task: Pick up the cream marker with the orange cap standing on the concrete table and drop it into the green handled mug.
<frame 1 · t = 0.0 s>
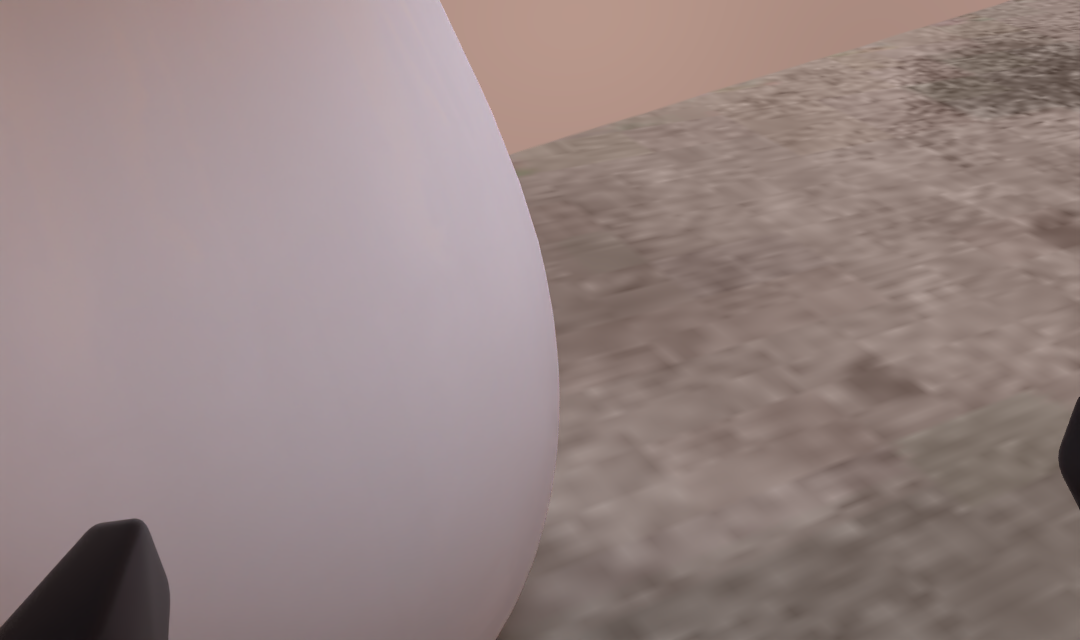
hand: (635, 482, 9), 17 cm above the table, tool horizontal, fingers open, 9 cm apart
pitcher: (188, 589, 30), on the table
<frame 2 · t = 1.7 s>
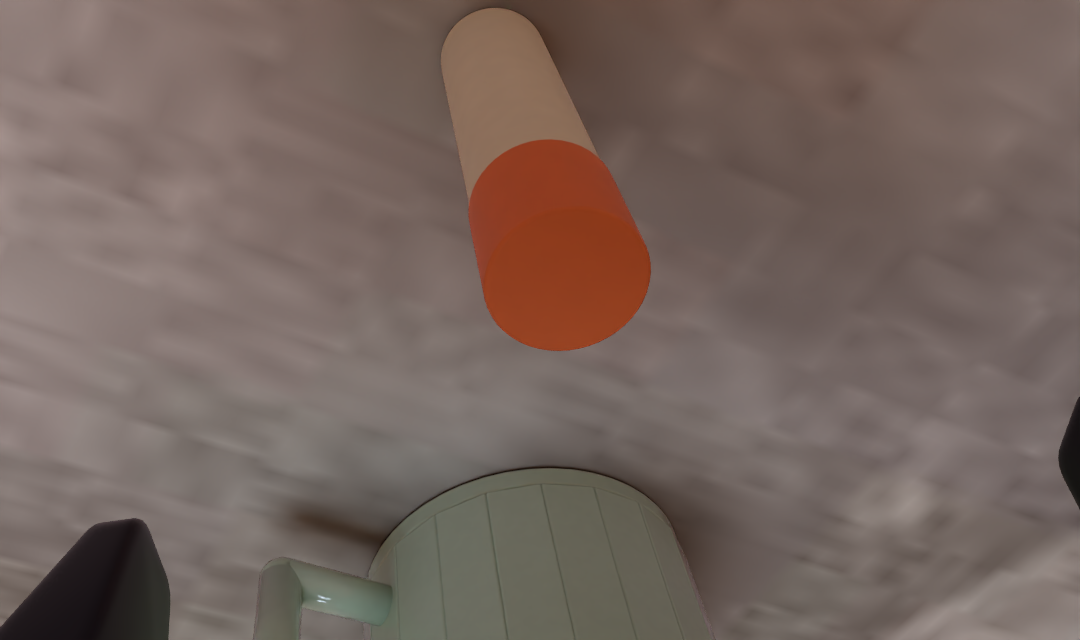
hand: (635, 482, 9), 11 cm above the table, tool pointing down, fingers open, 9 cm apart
green handled mug: (525, 584, 27), on the table
marker: (493, 59, 18), on the table
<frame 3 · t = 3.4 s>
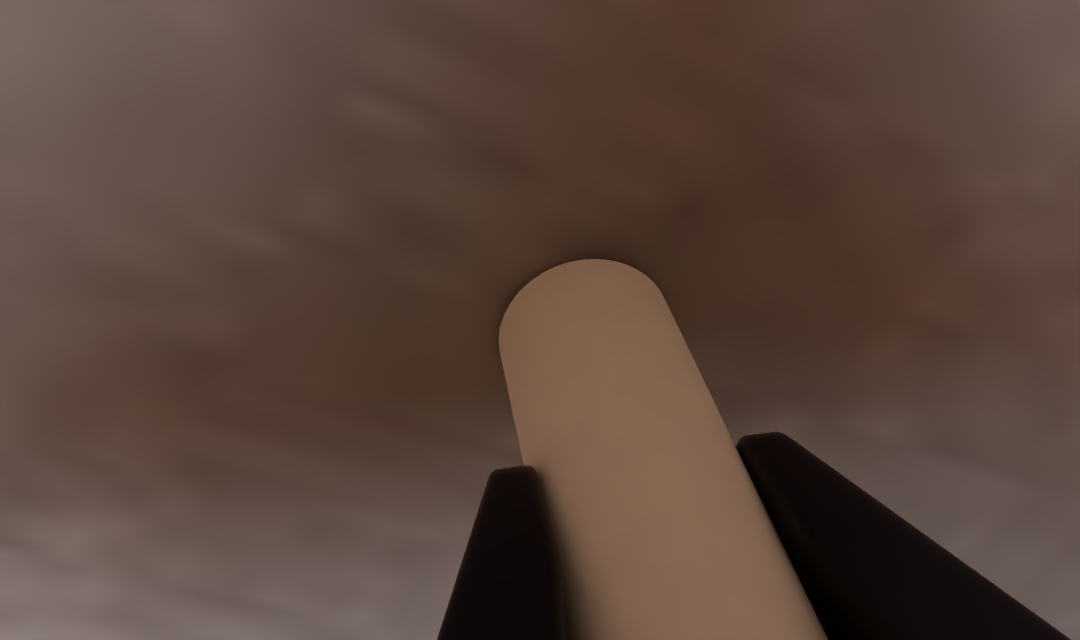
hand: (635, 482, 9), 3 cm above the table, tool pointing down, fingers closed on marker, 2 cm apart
marker: (583, 330, 11), on the table, touching gripper
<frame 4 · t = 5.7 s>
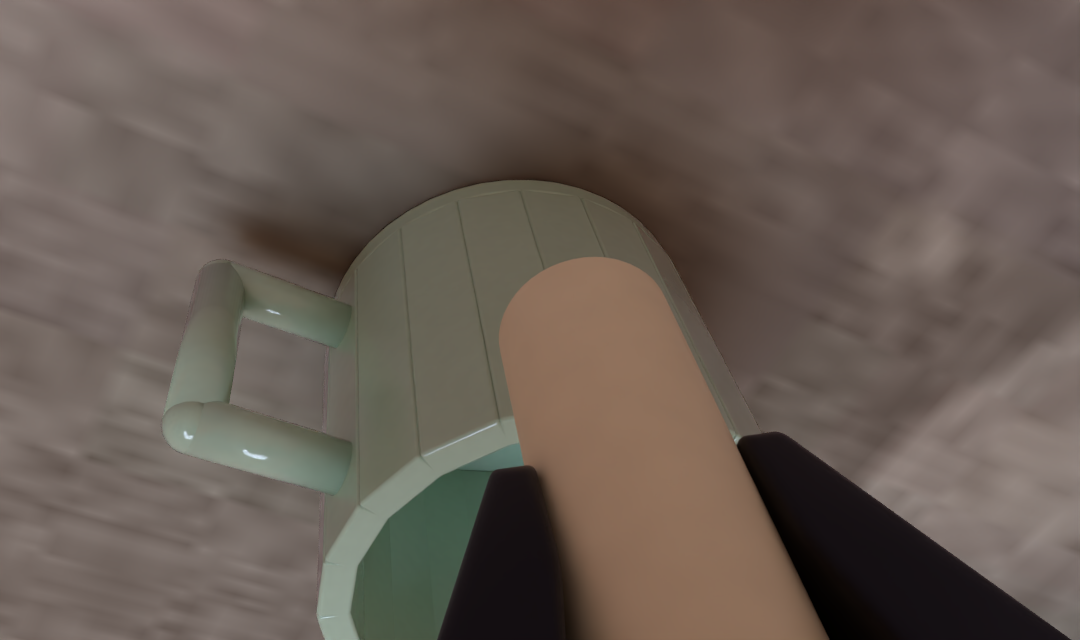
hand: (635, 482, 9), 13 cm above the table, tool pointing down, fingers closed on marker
green handled mug: (508, 339, 24), on the table
marker: (583, 328, 11), point 10 cm above the table, touching gripper
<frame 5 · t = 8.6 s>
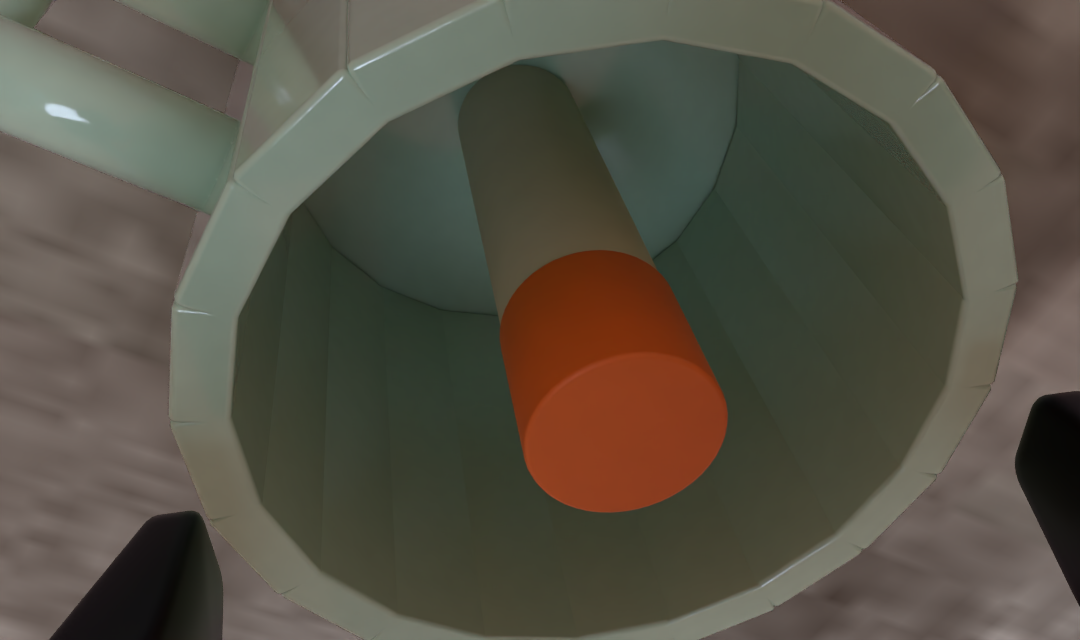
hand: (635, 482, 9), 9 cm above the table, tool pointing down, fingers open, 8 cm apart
green handled mug: (511, 109, 17), on the table
marker: (517, 121, 16), point 1 cm above the table, touching green handled mug
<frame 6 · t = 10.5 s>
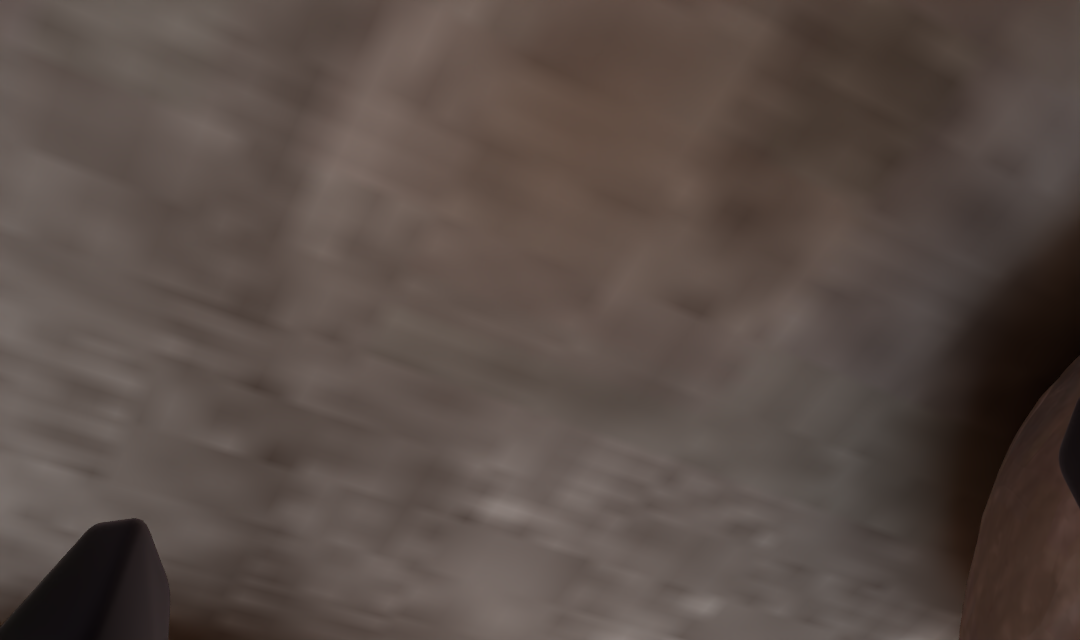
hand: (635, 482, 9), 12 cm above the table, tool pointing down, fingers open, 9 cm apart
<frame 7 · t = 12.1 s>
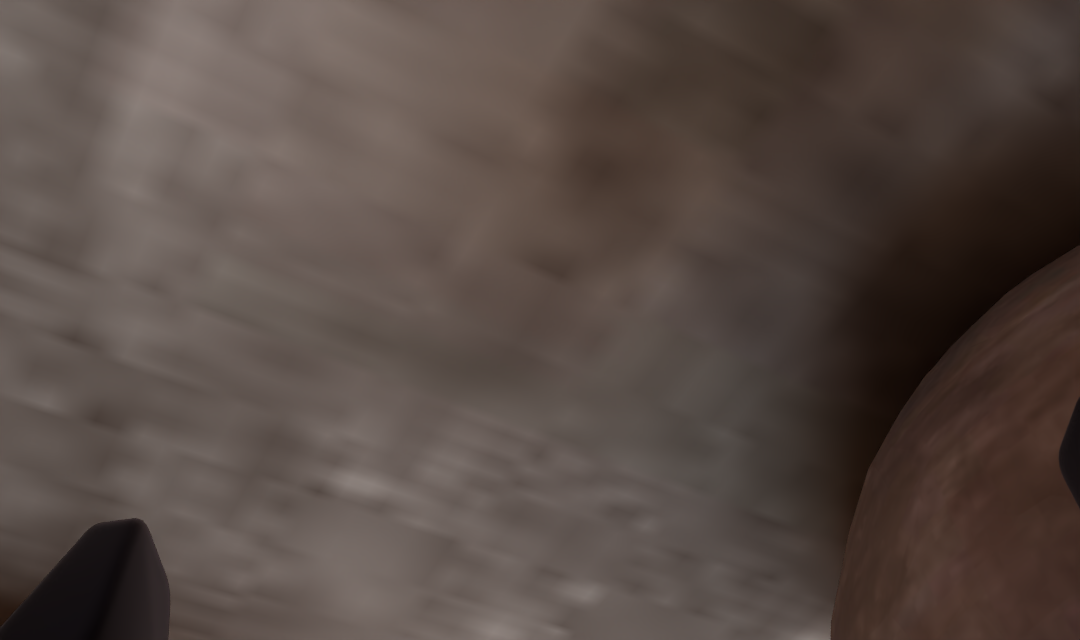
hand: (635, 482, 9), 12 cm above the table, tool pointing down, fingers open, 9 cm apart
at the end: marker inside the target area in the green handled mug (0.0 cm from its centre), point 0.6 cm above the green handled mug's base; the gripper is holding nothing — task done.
